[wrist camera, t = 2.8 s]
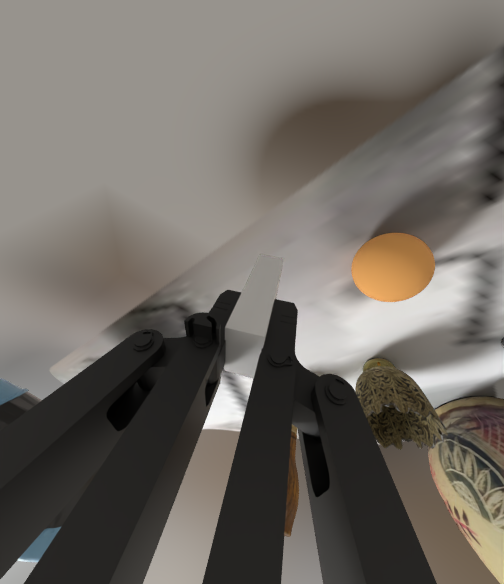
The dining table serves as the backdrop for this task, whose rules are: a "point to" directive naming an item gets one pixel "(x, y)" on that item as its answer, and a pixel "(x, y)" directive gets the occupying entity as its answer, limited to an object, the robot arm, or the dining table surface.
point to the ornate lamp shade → (397, 406)
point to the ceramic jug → (474, 474)
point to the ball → (393, 267)
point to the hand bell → (292, 486)
